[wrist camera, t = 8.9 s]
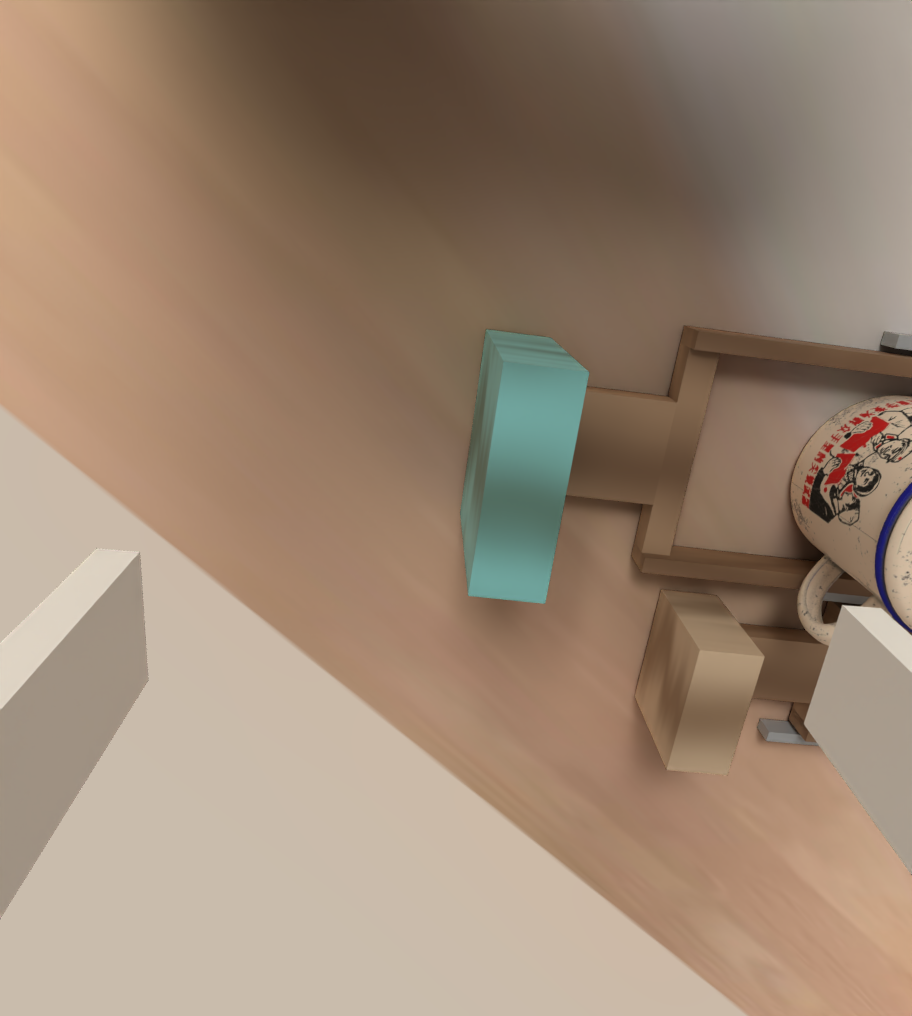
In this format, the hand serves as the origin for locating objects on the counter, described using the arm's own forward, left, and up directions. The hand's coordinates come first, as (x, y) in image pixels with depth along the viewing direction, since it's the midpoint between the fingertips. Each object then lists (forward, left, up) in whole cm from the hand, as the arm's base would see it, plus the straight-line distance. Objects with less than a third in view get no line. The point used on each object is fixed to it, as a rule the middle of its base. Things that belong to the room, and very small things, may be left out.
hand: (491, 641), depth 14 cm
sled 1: (+1, +18, -22) cm, 29 cm away
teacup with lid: (+3, +20, -23) cm, 31 cm away
